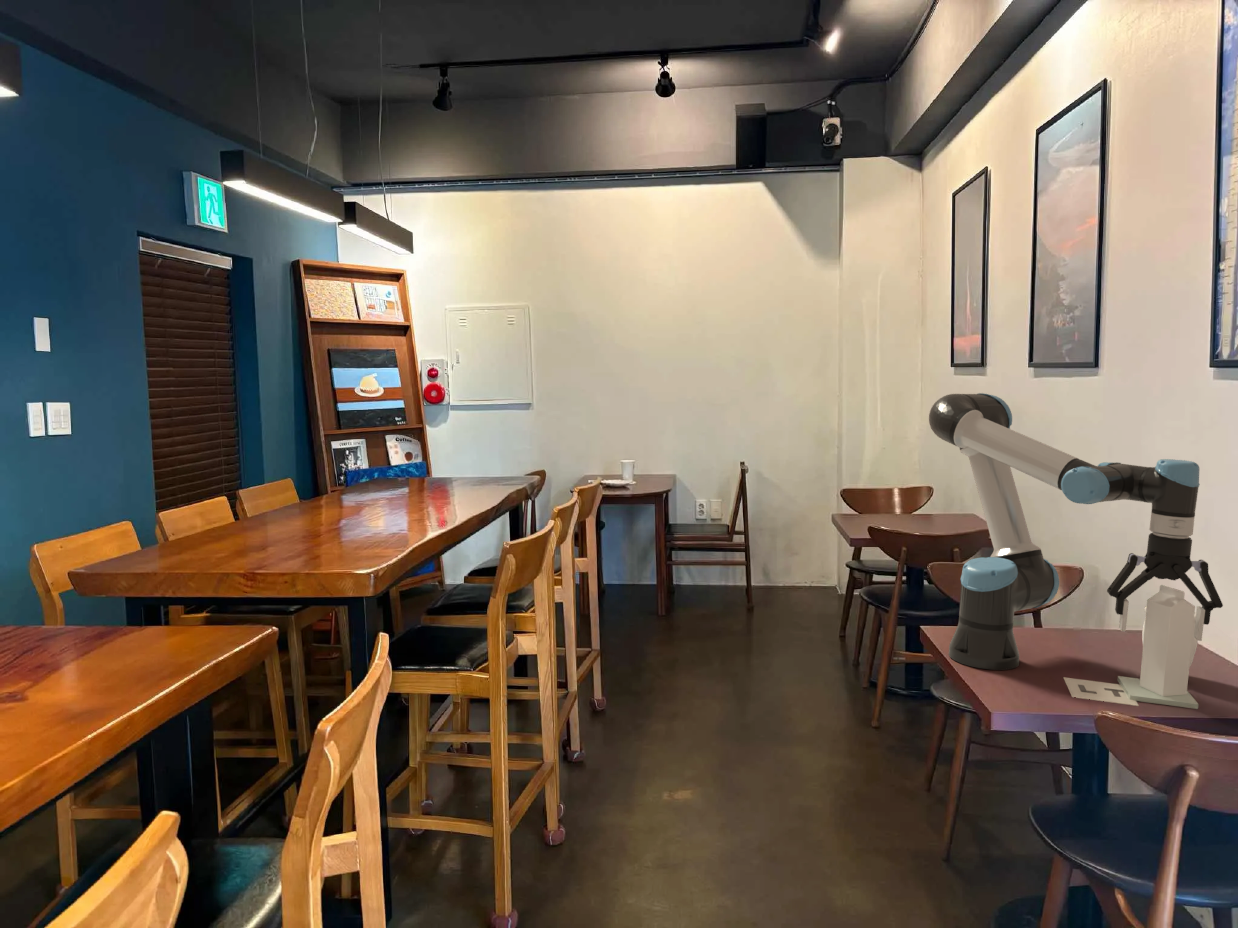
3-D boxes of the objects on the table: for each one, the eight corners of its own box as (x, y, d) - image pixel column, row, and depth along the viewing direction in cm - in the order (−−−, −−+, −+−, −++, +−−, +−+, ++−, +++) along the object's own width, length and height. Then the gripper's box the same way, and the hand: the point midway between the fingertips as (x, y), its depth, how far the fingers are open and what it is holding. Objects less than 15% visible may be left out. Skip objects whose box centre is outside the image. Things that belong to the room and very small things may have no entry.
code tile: (1071, 701, 172) (1072, 696, 172) (1063, 681, 184) (1063, 676, 184) (1138, 710, 168) (1138, 705, 168) (1125, 689, 179) (1125, 684, 179)
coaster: (1129, 699, 171) (1130, 695, 171) (1117, 680, 183) (1117, 675, 182) (1198, 708, 167) (1198, 704, 167) (1181, 688, 178) (1181, 683, 178)
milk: (1162, 684, 178) (1172, 583, 176) (1187, 695, 172) (1197, 591, 170) (1138, 685, 177) (1147, 584, 174) (1162, 696, 171) (1172, 591, 168)
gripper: (1105, 532, 172) (1095, 630, 175) (1249, 544, 163) (1236, 648, 166) (1098, 525, 179) (1088, 620, 182) (1236, 537, 170) (1224, 637, 173)
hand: (1159, 634), depth 174 cm, fingers open, 13 cm apart
